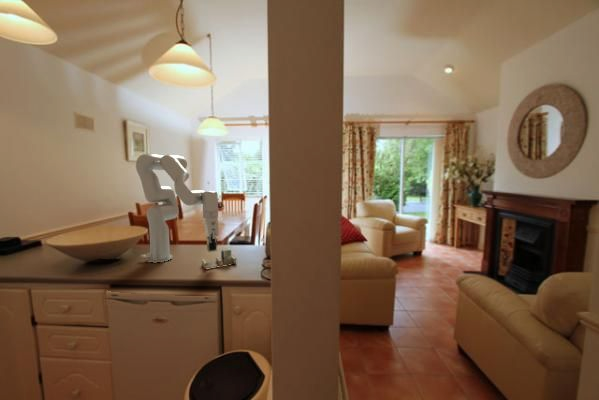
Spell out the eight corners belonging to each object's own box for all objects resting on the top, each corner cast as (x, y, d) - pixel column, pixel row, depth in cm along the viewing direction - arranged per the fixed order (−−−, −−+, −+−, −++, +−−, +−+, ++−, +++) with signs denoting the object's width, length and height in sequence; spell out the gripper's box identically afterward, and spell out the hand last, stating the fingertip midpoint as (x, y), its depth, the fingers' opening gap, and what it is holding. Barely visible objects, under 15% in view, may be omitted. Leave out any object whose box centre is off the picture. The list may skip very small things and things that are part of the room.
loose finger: (208, 251, 127) (208, 238, 126) (207, 250, 130) (206, 237, 130) (217, 250, 129) (217, 237, 129) (215, 248, 133) (215, 236, 132)
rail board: (204, 270, 125) (204, 255, 124) (201, 265, 132) (201, 251, 131) (236, 264, 134) (236, 250, 133) (232, 260, 141) (232, 246, 140)
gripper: (222, 216, 123) (223, 251, 125) (214, 212, 137) (215, 244, 139) (206, 217, 119) (207, 253, 121) (200, 213, 133) (201, 246, 135)
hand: (211, 248), depth 130 cm, fingers closed on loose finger, 4 cm apart
